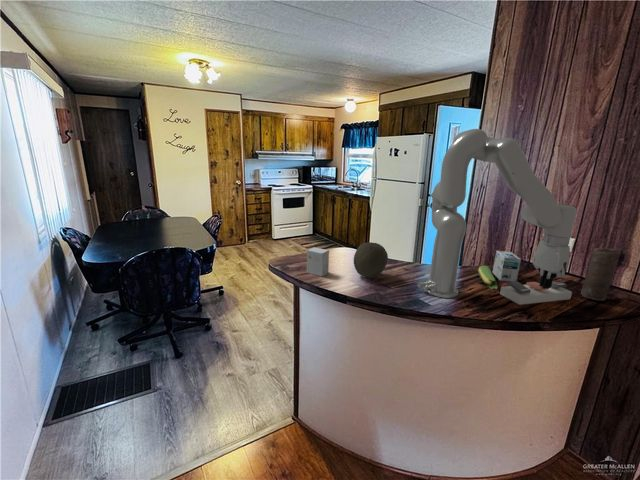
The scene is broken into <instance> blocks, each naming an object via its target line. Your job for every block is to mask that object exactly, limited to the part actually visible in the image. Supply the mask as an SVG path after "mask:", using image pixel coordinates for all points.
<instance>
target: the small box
mask: <svg viewBox="0 0 640 480" xmlns="http://www.w3.org/2000/svg"><path fill="white" fill-rule="evenodd" d="M329 255H330V250H329V249H324V248H320V247H311V248H308V249H307V250H306V273H307V274H311V275H314V276H318V277H324V276H325V275H327V274H329V265H330V264H329V262H330V259H329V258H330V257H329Z"/></svg>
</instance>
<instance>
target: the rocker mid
mask: <svg viewBox="0 0 640 480" xmlns="http://www.w3.org/2000/svg"><path fill="white" fill-rule="evenodd" d="M525 285H528V286H530V287H533V288H536V289H539V290H546V289H549V288H546V289H544V288H543V287H541V286H539V285H540V282H536V281H528V282H526V283H525Z"/></svg>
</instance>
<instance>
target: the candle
mask: <svg viewBox="0 0 640 480" xmlns="http://www.w3.org/2000/svg"><path fill="white" fill-rule="evenodd" d="M620 255H621V251H620V250H618V249H616V248H615V249H614V248H605V247H604V248H601V247H596V248H594V249H593V252H592V256H591V259H590V262H589V266H588V270H587V272H586V275H585V278H584V282H583V284H582V287H581V291H580V294H581V296H582V297H583V298H585V299H589V300H594V301H606V300H607V296H608V293H609V291H610V287H611V283H612V280H613V277H614V274H615V270H616V268H617V265H618V261H619V259H620Z"/></svg>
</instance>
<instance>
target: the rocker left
mask: <svg viewBox="0 0 640 480" xmlns="http://www.w3.org/2000/svg"><path fill="white" fill-rule="evenodd" d="M524 285H525V284H522V283H521V282H519V281H516V282H509V281H508V286H511V287H513V288H514V289H515V290H517V291H518V292H520V293H521V294H522V293H530V291H531V290H529V289H528V288H526V287H525V286H524Z"/></svg>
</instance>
